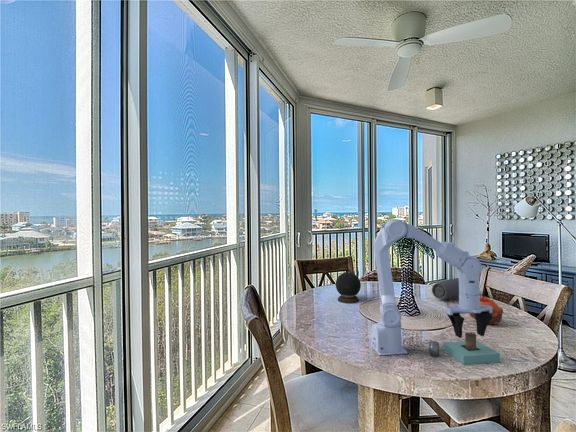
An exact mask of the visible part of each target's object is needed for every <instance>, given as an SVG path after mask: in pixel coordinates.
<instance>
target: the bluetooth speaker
mask: <svg viewBox="0 0 576 432" xmlns="http://www.w3.org/2000/svg"><path fill="white" fill-rule="evenodd" d="M431 292H432V295H433V296H434V297H435V298H436V299H438V300H446V301H452V300H456V299H459V277H458V278H450V279H445V280H442V281H438V282H436V283H434V284H433V285H432V287H431Z"/></svg>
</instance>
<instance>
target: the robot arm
mask: <svg viewBox="0 0 576 432" xmlns="http://www.w3.org/2000/svg"><path fill="white" fill-rule="evenodd" d="M403 237H404V238H405V239H414V240H417V241H418V242H419V243H422V244H424V245H425V246H427V247H429V248H430V249H432V250H434V252H435V255H436V257H437V258H439V259H440V260H442V261H444V262H445V263H447V264H449V265H451V266H452V267H453V268H456V269H457V270H458V278H459V298H458V304H457V305H453V306H447V307H446V308H445V313H446V315H447V317H448V318H449V320H450V323H451V325H452V327H453V330H454V334H455V336H456V337H458V338H459V339H460V338H462V337H463V325H464V322H465V318H464V317H463V316H462V315H464V314H466V315H467V314H469V313H474V314H475V317H476V320H475V322H476V323H475V324H476V335H479V336H481V337H484V336H485V334H486V331H487V327H488V325H489V322H490V320H491V319H492V315H491V314H489V313H492V307H491V306H489V305H480V297H481V296H480V288H481V287H480V274H481V273H482V271H483V268H484V266H482V263H481V260H479V259H478V258H477V257H474V256H471V255H470V253H469V251H466V250H465V251H464V250H462V249H460V248H458V247H457V246H455V245H456V244H455V243H454V242H452V241H450V242H449V241H443V242H440V241H439V240H437V239H435V238H434V237H433V236H431V235H429V234H427V233H426V232H424V230H421V229H420V228H419V227H416V226H414V225H412V224H410V223H408V222H404V221H403V220H401V219H397V218H396V219H395V218H391V219H388V220H387V221H386V222H385V223H384V224H383V225H382V226H381V227H380V229H379V232H378V234H377V236H376V237H375V239H374V241H373V251H374V257H375V264H376V272H377V273H376V274H377V280H378V286H379V293H380V303H379V308H378V311H379V313H380V317H379V319H378V322H376V323H373V324H372V325H371V327H370V328H371V329H370V334H371V337H370V338H371V343H370V346H371V348H373V350H374V351H375V352H376V353H377V354H378V355H379V356H390V355H403V354H408V351H407V350H405V349H404V348H403V345H402V340H403V339H402V314H401V311H399V307H398V305H397V300H396V296H395V288H394V280H393V274H392V267H391V259H390V251H389V249H390V248H391V247H392V245H394V243H395V242H398V241H399V240H400V239H402V238H403ZM462 339H463V338H462Z"/></svg>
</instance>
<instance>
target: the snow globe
mask: <svg viewBox="0 0 576 432" xmlns="http://www.w3.org/2000/svg"><path fill="white" fill-rule="evenodd" d="M361 286H362V284H361V279H360V278H359V277H358V276H357V275H356V274H355V273H354V272H349V271H346V272H343V273H341V274H339V275H338V276H337V278H336V281H335V288H336V291H337V292H338V294H339V296H338V298H337V301H338V302H339V303H342V304H350V305H351V304H357V303H359V302H360V299H359V297H358V296H357V295H358V294H359V293H360V290H361Z"/></svg>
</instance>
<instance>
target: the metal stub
mask: <svg viewBox="0 0 576 432" xmlns="http://www.w3.org/2000/svg"><path fill="white" fill-rule="evenodd" d="M428 347H429V348H428V353H429V354H428V355H429V356H430V357H432V358H439V357H440V342H438V341H436V340H429V341H428Z"/></svg>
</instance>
